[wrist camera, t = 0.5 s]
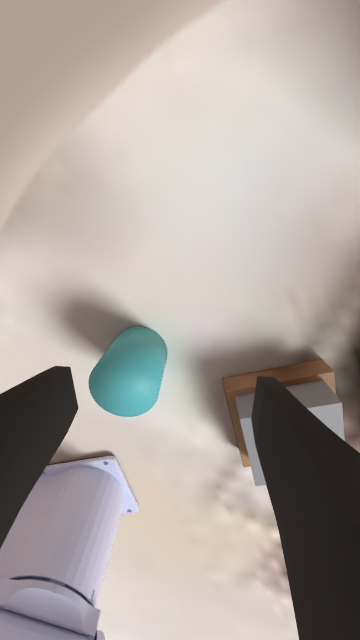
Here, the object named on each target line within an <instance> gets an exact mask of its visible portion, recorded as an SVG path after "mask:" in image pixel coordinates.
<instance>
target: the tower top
mask: <svg viewBox="0 0 360 640" xmlns="http://www.w3.org/2000/svg"><path fill="white" fill-rule="evenodd" d="M285 388H286V389H287V390H288V391H290V392H291V393H292V394H293V395H294V396H295V397H296V398H297V399H298V400H299V401H300V402H301V403H302V404H303V405H304V406H305V407H306V408H307V409H308V410H309V411H311V412H312V413H313V414H314V415H315V416H316V417H317V418H318V419H319V420H320V421H322V422H323V423H324V424H325V425H326V426H327V427H328V428H330V429H331V430H332V431H333V432H334V433H336V434H337V435H338V436H339V437H340V438H342V439H343V440H344V441H345V438H344V424H343V409H342V402H341V401H340V400H339V398H338V397H337V396H336V395H335V393H334V392H333V391H332V390H331V389H330V387H329V386H328V385H327V384H326V383H325V381H324V380H321V381H315V382H309V383H304V384H298V385H292V386H287V387H285ZM254 396H255V392H253V393H247V394H241V395H236V396H235V399H236V404H237V409H238V414H239V418H240V423H241V427H242V431H243V435H244V439H245V443H246V448H247V452H248V456H249V460H250V464H251V468H252V473H253V477H254V481H255V485H256V486H261V485H266V482H265V478H264V475H263V471H262V468H261V464H260V460H259V457H258V453H257V450H256V446H255V440H254V434H253V428H252V421H251V416H252V409H253V403H254Z"/></svg>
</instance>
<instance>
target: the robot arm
mask: <svg viewBox="0 0 360 640" xmlns="http://www.w3.org/2000/svg"><path fill="white" fill-rule="evenodd" d="M77 410H78V404H77V399H76V394H75V389H74V384H73V379H72V374H71V369H70V367H63V366H54V367H52V368H50V369H48V370H46V371H44V372H41V373H40V374H38V375H36V376H34V377H32V378H30V379H28V380H26V381H24V382H22V383H21V384H19V385H17V386H15V387H13V388H11V389H9V390H7V391H5V392H4V393H2V394H0V640H105V637H104V633H103V632H102V631H100V630H97V626H98V622H99V618H100V614H101V610H99V609H97V608H96V607H97V603H98V599H99V595H100V592H101V588H102V584H103V580H104V577H105V573H106V569H107V565H108V561H109V558H110V554H111V550H112V546H113V543H114V539H115V535H116V531H117V528H118V524H119V520H120V516H121V515H124V514H132V513H137V512H138V510H139V506H138V504H137V502H136V500H135V498H134V495H133V493H132V491H131V489H130V487H129V485H128V483H127V481H126V479H125V476H124V474H123V472H122V470H121V468H120V466H119V464H118V462H117V459H116V458H115V457H114V456H104V457H98V458H92V459H86V460H79V461H73V462H67V463H61V464H54V465H48V463H49V462H50V460H51V458H52V457H53V455H54V454H55V452H56V450H57V449H58V447H59V445H60V444H61V442H62V440H63V439H64V437H65V435H66V434H67V432H68V430H69V428H70V426H71V424H72V421H73V419H74V417H75V415H76V412H77ZM251 421H252V428H253V434H254V440H255V446H256V450H257V453H258V457H259V460H260V464H261V468H262V471H263V475H264V478H265V482H266V485H267V489H268V492H269V496H270V499H271V503H272V506H273V510H274V513H275V517H276V521H277V525H278V529H279V534H280V539H281V544H282V549H283V554H284V559H285V564H286V569H287V574H288V580H289V585H290V590H291V596H292V601H293V607H294V612H295V618H296V623H297V629H298V635H299V640H360V453H359V452H358V451H356V450H355V449H354V448H353V447H351V446H350V445H349V444H348V443H346V442H345V441H344V440H343V439H342V438H340V437H339V436H338V435H337V434H336V433H334V432H333V431H332V430H331V429H330V428H328V427H327V426H326V425H325V424H324V423H323V422H322V421H320V420H319V419H318V418H317V417H316V416H315V415H314V414H313V413H312V412H311V411H309V410H308V409H307V408H306V407H305V406H304V405H303V404H302V403H301V402H300V401H299V400H298V399H297V398H296V397H295V396H294V395H293V394H292V393H291V392H290V391H288V390H287V389H286V388H285V387H284V386H283V385H282V384H281V383H280V382H279V381H278V380H277V379H276V378H275V377H266V376H257V382H256V389H255V396H254V403H253V409H252V416H251ZM47 465H48V466H47Z"/></svg>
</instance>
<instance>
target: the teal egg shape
mask: <svg viewBox="0 0 360 640" xmlns="http://www.w3.org/2000/svg"><path fill="white" fill-rule="evenodd" d="M166 359H167V347H166V344H165V342H164V340H163V339H162V337H161V336H160V335H159V334H157V333H156V332H155V331H153V330H151V329H149V328H146V327H139V326H138V327H131V328H128V329H125V330H124V331H122V332H121V333H120V334H119V335H118V336H117V337H116V339H115V340H114V342H113V343H112V344H111V346H110V347H109V348H108V350H107V351H106V352H105V354H104V355H103V356H102V358H101V359H100V361H99V362H98V363H97V365H96V366H95V367H94V369H93V370H92V372H91V374H90V377H89V389H90V393H91V395H92V397H93V399H94V400H95V401H96V403H97V404H98V405H99V406H100V407H102V408H103V409H104V410H106V411H108V412H110V413H112V414H115V415H118V416H124V417H132V416H138V415H141V414H143V413H145V412H147V411H148V410H150V409H151V408H152V407H153V405H154V404H155V402H156V401H157V398H158V394H159V390H160V385H161V381H162V377H163V372H164V368H165V364H166Z"/></svg>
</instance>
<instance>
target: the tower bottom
mask: <svg viewBox="0 0 360 640" xmlns="http://www.w3.org/2000/svg"><path fill="white" fill-rule="evenodd" d="M257 376H266V377H275V378H276V379H277V380H278V381H279V382H280V383H281V384H282V385H283V386H284V387H287V386H292V385H298V384H304V383H309V382H315V381H321V380H324V381H325V383H326V384H327V385H328V386H329V387H330V389H331V390H332V391H333V392H334V393H335V395H336V387H335V375H334V371H333V370H332V369H331V368H330V367H329V366H328V365H327V364H326V363H325V362H324V361H323V360H322V359H319V360H313V361H308V362H303V363H298V364H293V365H288V366H283V367H278V368H273V369H267V370H262V371H257V372H252V373H247V374H242V375H237V376H232V377H227V378H222V380H223V386H224V392H225V396H226V400H227V404H228V408H229V411H230V415H231V419H232V423H233V427H234V431H235V435H236V439H237V443H238V447H239V451H240V455H241V459H242V463H243V467H249V466H251V464H250V460H249V456H248V452H247V448H246V443H245V439H244V435H243V431H242V427H241V423H240V418H239V414H238V409H237V404H236V399H235V396H236V395H241V394H247V393H253V392H255V389H256V382H257Z"/></svg>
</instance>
